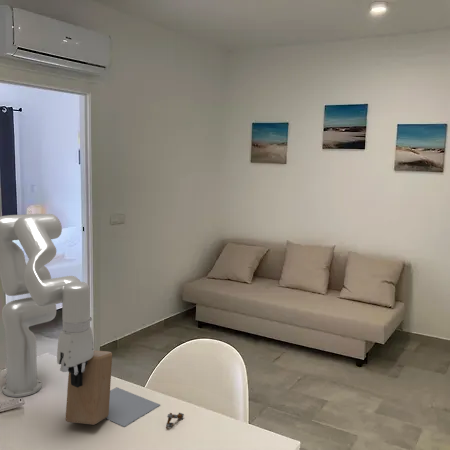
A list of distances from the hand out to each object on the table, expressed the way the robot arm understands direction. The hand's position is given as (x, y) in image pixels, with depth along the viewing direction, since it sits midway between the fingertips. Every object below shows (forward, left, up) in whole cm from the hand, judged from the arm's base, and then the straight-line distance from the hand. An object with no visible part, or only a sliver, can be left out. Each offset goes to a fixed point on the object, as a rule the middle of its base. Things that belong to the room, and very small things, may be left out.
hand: (76, 385), depth 146 cm
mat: (0, +18, -14) cm, 23 cm away
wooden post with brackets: (+21, +20, -14) cm, 32 cm away
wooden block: (0, +4, -13) cm, 14 cm away
